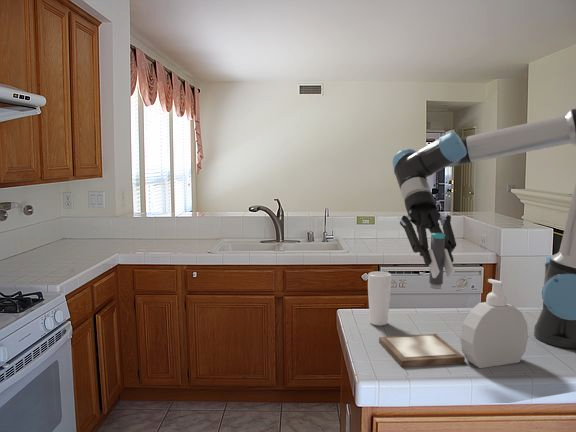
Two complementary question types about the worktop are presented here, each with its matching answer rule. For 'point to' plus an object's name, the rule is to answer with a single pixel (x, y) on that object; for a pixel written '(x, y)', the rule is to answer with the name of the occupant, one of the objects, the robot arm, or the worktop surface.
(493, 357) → the soap bottle
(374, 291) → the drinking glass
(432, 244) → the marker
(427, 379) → the worktop surface
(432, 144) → the robot arm
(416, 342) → the writing board
